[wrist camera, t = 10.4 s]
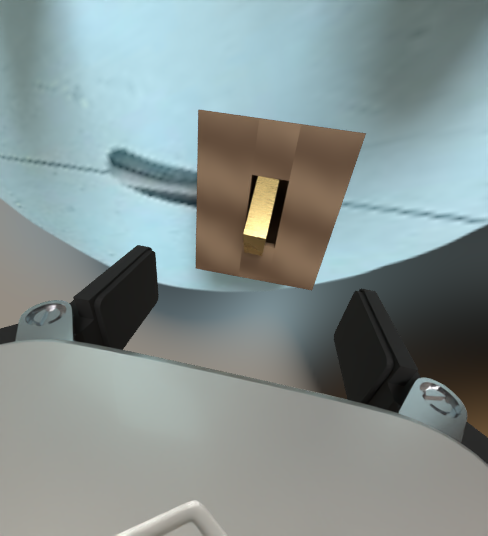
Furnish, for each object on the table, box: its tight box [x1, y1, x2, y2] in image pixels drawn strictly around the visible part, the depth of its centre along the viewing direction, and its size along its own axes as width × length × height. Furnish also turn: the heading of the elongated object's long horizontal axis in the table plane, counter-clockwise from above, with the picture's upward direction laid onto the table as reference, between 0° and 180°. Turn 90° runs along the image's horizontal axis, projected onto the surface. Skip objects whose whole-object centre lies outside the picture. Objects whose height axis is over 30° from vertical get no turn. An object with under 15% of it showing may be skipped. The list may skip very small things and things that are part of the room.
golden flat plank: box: [243, 176, 279, 256], centre depth 24 cm, size 5×2×6 cm
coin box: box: [196, 110, 366, 290], centre depth 28 cm, size 16×14×10 cm
